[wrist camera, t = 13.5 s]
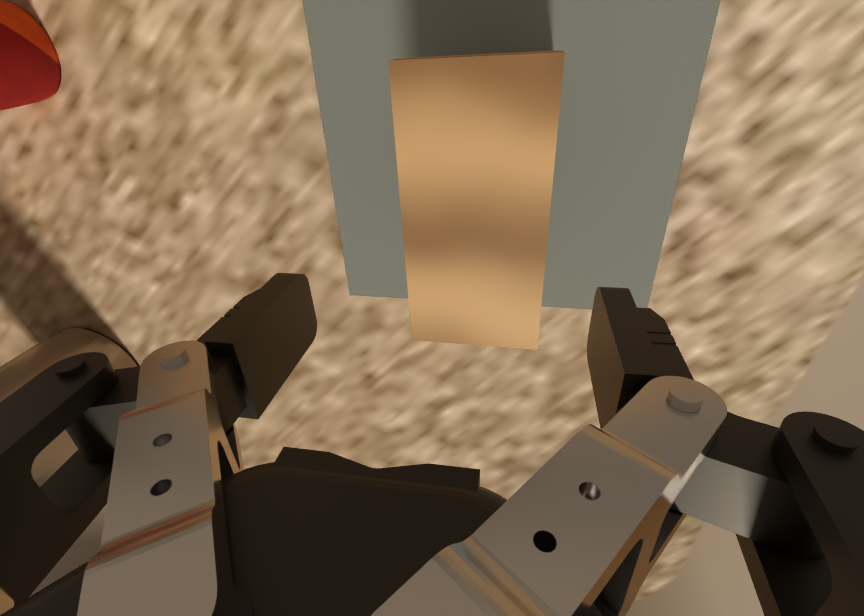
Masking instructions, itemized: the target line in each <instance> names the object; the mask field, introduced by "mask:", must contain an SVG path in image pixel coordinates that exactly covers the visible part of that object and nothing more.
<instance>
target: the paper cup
mask: <svg viewBox="0 0 864 616" xmlns="http://www.w3.org/2000/svg"><path fill="white" fill-rule="evenodd" d="M60 83H61V67H60V62H59V58H58V55H57V53H56V50H55V48H54V46H53V44H52V42H51V40H50V38H49V37H48V35H47V34H46V32H45V31H44V29H43V28H42V27H41V25H40V24H39V23H38V22H37V21H36V20H35V19H34V18H33V17H32V16H31V15H30V14H29V13H27V12H26V11H25V10H23V9H22V8H20V7H19V6H17V5H15V4H13V3H10V2H7V1H4V0H0V110H5V109H9V108H14V107H18V106H23V105H27V104H31V103H35V102H39V101H43V100H46V99H48V98H51V97H52V96H54V95H55V94H56V92H57V91H58V89H59V86H60Z"/></svg>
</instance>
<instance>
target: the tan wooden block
mask: <svg viewBox="0 0 864 616" xmlns="http://www.w3.org/2000/svg"><path fill="white" fill-rule="evenodd" d="M564 57H565V52H564V51H562V50H559V51H538V52H516V53H495V54H474V55H453V56H432V57H411V58H399V59H393V60H388V66H389V77H390V89H391V101H392V112H393V124H394V136H395V148H396V159H397V171H398V183H399V195H400V206H401V218H402V230H403V241H404V253H405V265H406V277H407V288H408V300H409V312H410V323H411V335H412V340H418V341H432V342H445V343H458V344H471V345H485V346H498V347H511V348H524V349H537V348H538V337H539V326H540V316H541V305H542V294H543V283H544V272H545V262H546V251H547V240H548V229H549V219H550V208H551V197H552V186H553V175H554V165H555V154H556V143H557V132H558V122H559V111H560V100H561V89H562V79H563V68H564Z"/></svg>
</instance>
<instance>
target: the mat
mask: <svg viewBox="0 0 864 616" xmlns="http://www.w3.org/2000/svg"><path fill="white" fill-rule="evenodd" d="M720 1H721V0H303V6H304V12H305V18H306V24H307V31H308V37H309V43H310V49H311V56H312V62H313V68H314V74H315V81H316V87H317V93H318V99H319V106H320V112H321V118H322V124H323V131H324V137H325V143H326V149H327V155H328V162H329V168H330V174H331V180H332V187H333V193H334V199H335V205H336V212H337V218H338V224H339V230H340V237H341V243H342V249H343V255H344V262H345V268H346V274H347V280H348V286H349V293H350V295H358V296H375V297H392V298H408V288H407V277H406V265H405V253H404V241H403V230H402V218H401V206H400V195H399V183H398V171H397V159H396V148H395V136H394V124H393V112H392V101H391V89H390V77H389V66H388V60H393V59H399V58H411V57H432V56H453V55H474V54H495V53H516V52H538V51H559V50H562V51H564V52H565V57H564V68H563V79H562V89H561V100H560V111H559V122H558V132H557V143H556V154H555V165H554V175H553V186H552V197H551V208H550V219H549V229H548V240H547V251H546V262H545V272H544V283H543V294H542V305H541V306H543V307H560V308H577V309H593V303H594V297H595V292H596V289H597V287H615V288H629V290H630V292H631V294H632V297H633V299H634V302H635V304H636V306H637V308H647V307H648V303H649V298H650V294H651V290H652V286H653V282H654V277H655V273H656V269H657V265H658V261H659V256H660V252H661V248H662V244H663V240H664V235H665V231H666V227H667V223H668V219H669V214H670V210H671V206H672V202H673V198H674V193H675V189H676V185H677V181H678V177H679V172H680V168H681V164H682V160H683V156H684V152H685V147H686V143H687V139H688V135H689V131H690V126H691V122H692V118H693V114H694V110H695V105H696V101H697V97H698V93H699V89H700V84H701V80H702V76H703V72H704V68H705V63H706V59H707V55H708V51H709V47H710V42H711V38H712V34H713V30H714V26H715V21H716V17H717V13H718V9H719V5H720Z"/></svg>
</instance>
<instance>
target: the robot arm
mask: <svg viewBox="0 0 864 616" xmlns="http://www.w3.org/2000/svg"><path fill="white" fill-rule="evenodd" d="M316 331H317V320H316V315H315V310H314V305H313V301H312V296H311V291H310V286H309V282H308V279H307V277H306V276H305V275H304V274H293V273H277V274H275V275H274V276H273V277H272V278H271V279H270V280H269V281H268V282H267V283H266V284H265V285H264V286H263V287H261V288H260V289H258V290H256V291H254V292H252V293H251V294H249V295H247V296H245V297H243V298H242V299H241V300H240V301H239V302H238V303H237V304H236V305H235V306H234V307H233V309H230V310H229V311H228V312H227V313H226V314H225V315H224V317H222V318H221V319H219V320H218V321H217V322H216V323H215V324H214V325H213V326H212V327H211V328H210V329H209V330H207V331H206V332H205V333H204V334H203V335H202V336H201V337H200V338H199V339H198V340H197V341H180V342H175V343H172V344H169V345H166V346H163V347H161V348H159V349H157V350H155V351H154V352H152V353H151V354H149V355H148V356H147V357H146V358H145V359H144V360H143V361H142V363H141V366H137V365H136V363H135V362H134V361H133V360H132V359H131V357H130V356H129V355H128V354H127V353H126V352H125V351H124V350H123V349H122V348H120V347H119V346H118V345H116V344H115V343H114V342H112V341H111V340H109V339H107V338H106V337H104V336H102V335H100V334H98V333H95V332H93V331H90V330H86V329H81V328H69V329H65V330H63V331H61V332H59V333H58V334H56V335H54V336H53V337H51V338H46V339H44V340H43V341H41V342H39V343H38V344H36V345H35V346H33V347H31V348H30V349H28V350H27V351H25V352H23V353H22V354H20V355H19V356H17V357H15V358H14V359H12V360H10V361H9V362H7V363H6V364H4V365H2V366H1V367H0V616H626V614H627V612H628V611H629V609H630V607H631V605H632V604H633V602H634V600H635V598H636V596H637V594H638V592H639V589H640V587H641V586H642V584H643V582H644V580H645V578H646V577H647V575H648V573H649V572H650V570H651V569H652V567H653V566H654V564H655V563H656V561H657V560H658V558H659V557H660V555H661V554H662V552H663V550H664V549H665V547H666V546H667V544H668V543H669V541H670V540H671V538H672V537H673V535H674V534H675V532H676V531H677V529H678V527H679V526H680V524H681V523H682V521H683V520H684V518H685V517H686V515H689V516H692V517H695V518H697V519H700V520H702V521H705V522H708V523H710V524H713V525H715V526H718V527H720V528H723V529H726V530H728V531H731V532H733V533H736V536H737V539H738V542H739V545H740V547H741V550H742V553H743V556H744V559H745V562H746V564H747V567H748V570H749V573H750V576H751V579H752V581H753V584H754V587H755V590H756V593H757V596H758V598H759V601H760V604H761V607H762V610H763V612H764V615H765V616H864V431H863V430H861V429H859V428H858V427H856V426H854V425H852V424H850V423H848V422H846V421H843V420H841V419H839V418H835V417H833V416H829V415H825V414H821V413H815V412H796V413H792V414H790V415H788V416H787V417H785V418H784V420H783V421H782V423H781V426H780V428H777V427H774V426H771V425H767V424H763V423H760V422H756V421H753V420H749V419H746V418H743V417H740V416H737V415H734V414H732V413H729V412H727V407H726V404H725V402H724V401H723V399H722V398H721V397H720V396H719V395H718V394H717V393H716V392H715V391H713V390H712V389H711V388H709V387H707V386H706V385H704V384H702V383H700V382H697V381H695V380H694V379H693V377H692V375H691V373H690V371H689V369H688V367H687V365H686V363H685V361H684V359H683V357H682V355H681V353H680V351H679V348H678V346H676V342H675V340H674V338H673V336H672V335H671V332H670V330H669V328H668V326H667V324H666V322H665V320H664V319H663V318H662V317H660V316H659V315H658V314H657V313H655V312H654V311H653V310H652V309H650V308H637V306H636V304H635V302H634V299H633V297H632V294H631V292H630V290H629V288H615V287H597V289H596V292H595V297H594V303H593V309H592V316H591V322H590V328H589V334H588V342H587V359H588V365H589V370H590V375H591V381H592V386H593V391H594V396H595V402H596V407H597V412H598V417H599V423H600V428H601V429H599V428H597V427H595V426H594V425H591V424H589V425H587V426H585V427H583V428H582V429H581V430H580V431H579V432H578V433H577V434H576V435H575V436H574V437H573V438H572V439H571V440H570V441H569V442H568V443H566V444H565V445H564V446H563V447H562V448H561V449H560V450H559V451H558V452H557V453H556V454H555V455H554V456H553V457H552V458H551V459H550V460H549V461H548V462H547V463H546V464H545V465H544V466H543V467H542V468H540V469H539V470H538V471H537V472H536V473H535V474H534V475H533V476H532V477H531V478H530V479H529V480H528V481H527V482H526V483H525V484H524V485H523V486H522V487H521V488H520V489H519V490H518V491H517V492H516V493H515V494H513V495H512V496H511V497H510V498H509V499H508V500H506V499H505V498H503V497H502V496H500V495H498V494H496V493H494V492H492V491H490V490H488V489H486V488H483V487H480V469H471V468H462V467H454V466H445V465H436V464H420V465H410V466H399V467H389V468H378V469H376V468H370V467H367V466H365V465H362V464H359V463H357V462H354V461H351V460H349V459H346V458H343V457H341V456H338V455H336V454H333V453H330V452H324V451H316V450H307V449H298V448H290V447H283V449H282V451H281V452H280V454H279V456H278V457H277V459H276V461H275V462H273V463H267V464H262V465H257V466H254V467H251V468H248V469H245V470H244V467H243V461H242V455H241V450H240V444H239V438H238V432H237V429H236V427H235V424H234V422H235V421H236V420H237V419H238V417H242V418H252V419H259V417H260V416H261V415H262V413H263V412H264V410H265V409H266V408H267V406H268V405H269V403H270V402H271V400H272V399H273V398H274V396H275V395H276V393H277V392H278V390H279V389H280V388H281V386H282V385H283V383H284V382H285V381H286V379H287V378H288V376H289V375H290V373H291V372H292V371H293V369H294V368H295V366H296V365H297V363H298V362H299V361H300V359H301V358H302V356H303V355H304V354H305V352H306V351H307V349H308V348H309V346H310V345H311V344H312V342H313V341H314V338H315V336H316ZM106 504H107V508H106V514H105V521H104V528H103V534H102V542H101V547H100V550H99V552H98V553H97V554H96V555H95V556H93V557H92V558H91V559H90V560H89V561H88V562H87V563H85V564H83V565H81V566H80V567H78V568H77V569H75V570H73V571H72V572H70V573H68V574H67V575H65V576H63V577H62V578H60V579H59V580H57V581H55V582H54V583H52V584H50V585H49V586H47V587H45V588H44V589H42V590H41V591H39V592H37V593H35V594H34V595H32V596H31V597H29V596H30V595H31V594H32V592H33V591H34V590H35V589H36V587H38V585H39V584H40V583H41V582H42V580H43V579H44V578H45V577H46V576H47V575H48V573H49V572H50V571H51V570H52V568H53V567H54V566H55V565H56V564H57V563H58V561H59V560H60V559H61V558H62V557H63V555H64V554H65V553H66V552H67V550H68V549H69V548H70V547H71V545H73V543H74V542H75V541H76V540H77V538H78V537H79V536H80V535H81V534H82V533H83V531H84V530H85V529H86V528H87V527H88V525H89V524H90V523H91V522H92V521H93V519H94V518H95V517H96V516H97V515H98V513H99V512H100V511H101V510H102V509H103V507H104V506H105V505H106ZM28 597H29V598H28Z"/></svg>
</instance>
